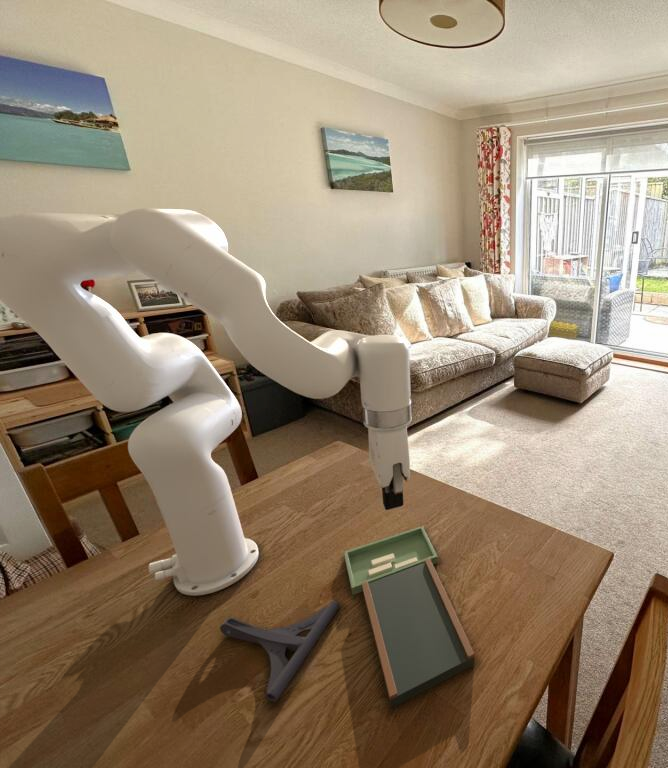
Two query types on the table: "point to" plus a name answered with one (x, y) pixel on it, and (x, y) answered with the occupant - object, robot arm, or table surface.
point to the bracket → (283, 644)
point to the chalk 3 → (405, 563)
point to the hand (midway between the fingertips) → (393, 505)
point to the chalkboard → (415, 632)
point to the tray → (399, 545)
